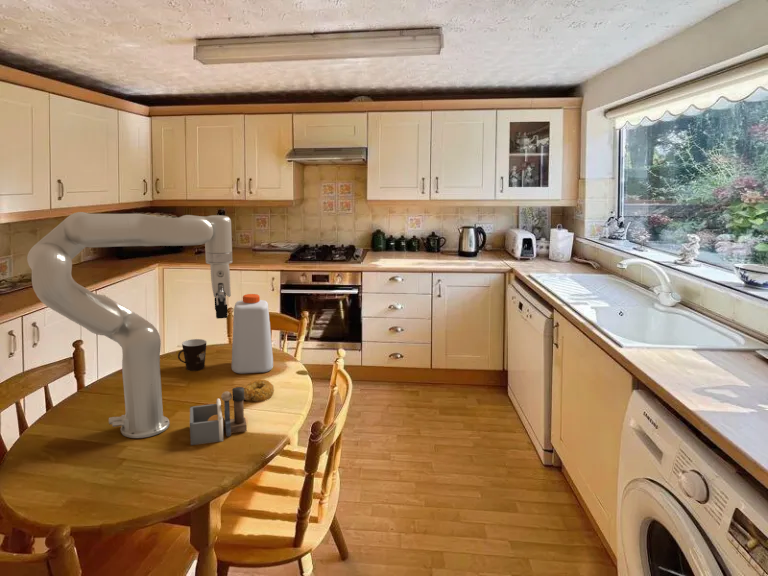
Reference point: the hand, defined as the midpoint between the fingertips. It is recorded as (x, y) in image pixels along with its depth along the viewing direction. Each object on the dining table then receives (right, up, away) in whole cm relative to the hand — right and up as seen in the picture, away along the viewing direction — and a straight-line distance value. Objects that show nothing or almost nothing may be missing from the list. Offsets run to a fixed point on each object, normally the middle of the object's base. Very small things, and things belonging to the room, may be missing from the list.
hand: (221, 313), depth 157 cm
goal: (-1, -33, -10) cm, 35 cm away
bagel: (+7, -28, +15) cm, 33 cm away
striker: (+6, -32, -8) cm, 34 cm away
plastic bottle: (-1, -23, +42) cm, 47 cm away
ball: (+2, -31, -10) cm, 32 cm away
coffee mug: (-23, -23, +38) cm, 50 cm away
